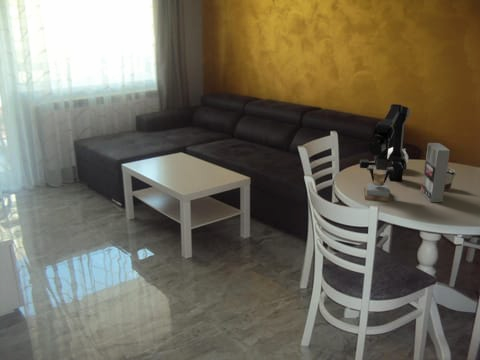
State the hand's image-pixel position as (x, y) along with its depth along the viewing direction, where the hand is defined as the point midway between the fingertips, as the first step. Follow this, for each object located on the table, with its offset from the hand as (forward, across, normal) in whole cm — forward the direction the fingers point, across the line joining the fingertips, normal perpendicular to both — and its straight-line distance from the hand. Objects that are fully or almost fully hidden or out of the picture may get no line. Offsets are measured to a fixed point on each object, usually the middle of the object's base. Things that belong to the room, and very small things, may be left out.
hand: (378, 182), depth 227 cm
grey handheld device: (+7, +25, +4) cm, 26 cm away
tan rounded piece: (+1, 0, 0) cm, 1 cm away
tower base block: (+8, 0, 0) cm, 8 cm away
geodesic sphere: (+7, +12, +46) cm, 48 cm away
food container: (+7, +32, +20) cm, 38 cm away
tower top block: (+5, 0, 0) cm, 5 cm away
